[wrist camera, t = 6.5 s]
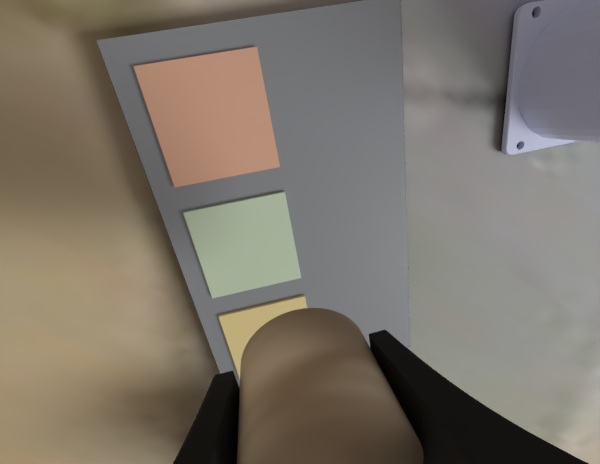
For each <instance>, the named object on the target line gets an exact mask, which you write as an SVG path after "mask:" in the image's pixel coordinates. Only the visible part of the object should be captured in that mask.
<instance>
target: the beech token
mask: <svg viewBox="0 0 600 464" xmlns="http://www.w3.org/2000/svg"><path fill="white" fill-rule="evenodd" d="M423 460H424V455H423V448H422V446H421V443H420V441H419V439H418V437H417V435H416V433H415V431H414V429H413V428H412V426H411V424H410V422H409V420H408V418H407V416H406V414H405V413H404V411H403V409H402V407H401V405H400V403H399V401H398V399H397V397H396V396H395V394H394V392H393V390H392V388H391V386H390V384H389V382H388V381H387V379H386V377H385V375H384V373H383V371H382V369H381V367H380V366H379V364H378V362H377V360H376V358H375V356H374V354H373V352H372V351H371V349H370V347H369V345H368V343H367V341H366V339H365V337H364V335H363V334H362V332H361V330H360V328H359V327H358V326H357V325H356V324H355V323H354V322H353V321H352V320H351V319H350V318H348V317H346V316H345V315H343V314H341V313H339V312H336V311H333V310H329V309H323V308H303V309H298V310H293V311H290V312H286V313H284V314H281V315H279V316H277V317H275V318H273V319H272V320H270V321H268V322H267V323H265V324H264V325H263V326H262V327H260V328H259V329H258V330H257V331H256V332H255V333H254V334H253V336H252V337H251V338H250V340H249V341H248V343H247V344H246V346H245V349H244V351H243V354H242V358H241V367H240V393H239V419H238V445H237V464H423Z"/></svg>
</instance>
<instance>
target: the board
mask: <svg viewBox="0 0 600 464" xmlns="http://www.w3.org/2000/svg"><path fill="white" fill-rule="evenodd" d="M96 41H97V44H98V46H99V49H100V52H101V54H102V57H103V60H104V62H105V65H106V68H107V70H108V73H109V76H110V79H111V81H112V84H113V87H114V89H115V92H116V95H117V97H118V100H119V103H120V105H121V108H122V111H123V114H124V116H125V119H126V122H127V124H128V127H129V130H130V132H131V135H132V138H133V140H134V143H135V146H136V149H137V151H138V154H139V157H140V159H141V162H142V165H143V167H144V170H145V173H146V175H147V178H148V181H149V184H150V186H151V189H152V192H153V194H154V197H155V200H156V202H157V205H158V208H159V210H160V213H161V216H162V219H163V221H164V224H165V227H166V229H167V232H168V235H169V237H170V240H171V243H172V245H173V248H174V251H175V254H176V256H177V259H178V262H179V264H180V267H181V270H182V272H183V275H184V278H185V280H186V283H187V286H188V289H189V291H190V294H191V297H192V299H193V302H194V305H195V307H196V310H197V313H198V315H199V318H200V321H201V324H202V326H203V329H204V332H205V334H206V337H207V340H208V342H209V345H210V348H211V350H212V353H213V356H214V359H215V361H216V364H217V367H218V369H219V372H220V374H221V373H225V372H229V371H233V372H234V374H235V377H236V380H237V383H238V385H239V388H240V367H241V358H242V354H243V351H244V349H245V346H246V344H247V343H248V341H249V340H250V338H251V337H252V336H253V334H254V333H255V332H256V331H257V330H258V329H259V328H260V327H262V326H263V325H264V324H265V323H267V322H268V321H270V320H272V319H273V318H275V317H277V316H279V315H281V314H284V313H286V312H290V311H293V310H298V309H303V308H323V309H329V310H333V311H336V312H339V313H341V314H343V315H345V316H346V317H348V318H350V319H351V320H352V321H353V322H354V323H355V324H356V325H357V326H358V327H359V328H360V330H361V332H362V334H363V335H364V337H365V339H366V341H367V343H368V345H369V347H370V341H369V334H370V333H374V332H378V331H381V330H386V331H388V332H389V333H390V334H391V335H393V336H394V337H395V338H396V339H397V340H398V341H399V342H401V343H402V344H403V345H404V346H405V347H406V348H408V347H410V318H409V281H408V245H407V208H406V172H405V135H404V99H403V63H402V26H401V0H362V1H355V2H349V3H342V4H335V5H329V6H322V7H315V8H309V9H302V10H295V11H289V12H282V13H275V14H269V15H262V16H255V17H249V18H242V19H235V20H229V21H222V22H215V23H209V24H202V25H195V26H189V27H182V28H175V29H169V30H162V31H155V32H149V33H142V34H135V35H129V36H122V37H115V38H109V39H102V40H96Z"/></svg>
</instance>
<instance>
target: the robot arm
mask: <svg viewBox="0 0 600 464" xmlns="http://www.w3.org/2000/svg"><path fill="white" fill-rule="evenodd" d="M533 10H534V17H533V16H532V11H533ZM577 141H591V142H600V0H542V1H536V2H530V3H527V4H524V5H522V6H520V7H519V8H518V9H517V11H516V12H515V16H514V24H513V34H512V45H511V55H510V65H509V76H508V86H507V96H506V107H505V117H504V128H503V138H502V152H503V153H504V154H506V155H514V154H519V153H524V152H528V151H533V150H538V149H543V148H548V147H553V146H557V145H562V144H567V143H572V142H577ZM518 143H519V146H518V147H517V144H518ZM369 341H370V349H371V351H372V352H373V354H374V356H375V358H376V360H377V362H378V364H379V366H380V367H381V369H382V371H383V373H384V375H385V377H386V379H387V381H388V382H389V384H390V386H391V388H392V390H393V392H394V394H395V396H396V397H397V399H398V401H399V403H400V405H401V407H402V409H403V411H404V413H405V414H406V416H407V418H408V420H409V422H410V424H411V426H412V428H413V429H414V431H415V433H416V435H417V437H418V439H419V441H420V443H421V446H422V448H423V455H424V460H423V464H588V463H586V462H584V461H582V460H580V459H578V458H576V457H574V456H572V455H571V454H569V453H567V452H565V451H563V450H561V449H559V448H557V447H556V446H554V445H552V444H550V443H548V442H546V441H544V440H542V439H541V438H539V437H537V436H535V435H533V434H531V433H529V432H528V431H526V430H524V429H523V428H521V427H519V426H517V425H516V424H514V423H512V422H511V421H509V420H507V419H506V418H504V417H502V416H501V415H499V414H497V413H496V412H494V411H493V410H491V409H489V408H488V407H486V406H485V405H483V404H482V403H480V402H479V401H477V400H476V399H474V398H473V397H471V396H470V395H468V394H467V393H465V392H464V391H462V390H461V389H460V388H458V387H457V386H455V385H454V384H452V383H451V382H450V381H448V380H447V379H446V378H444V377H443V376H442V375H440V374H439V373H438V372H436V371H435V370H434V369H432V368H431V367H430V366H429V365H427V364H426V363H425V362H423V361H422V360H421V359H420V358H418V357H417V356H416V355H415V354H414V353H412V352H411V351H410V350H409V349H408V348H406V347H405V346H404V345H403V344H402V343H401V342H399V341H398V340H397V339H396V338H395V337H394V336H393V335H391V334H390V333H389V332H388V331H386V330H381V331H378V332H374V333H370V334H369ZM239 393H240V388H239V385H238V383H237V380H236V377H235V374H234V372H233V371H229V372H225V373H221V374H218V375H215V376H214V378H213V380H212V382H211V385H210V387H209V389H208V392H207V394H206V396H205V399H204V401H203V403H202V405H201V408H200V410H199V412H198V414H197V416H196V419H195V421H194V423H193V425H192V427H191V429H190V431H189V433H188V435H187V437H186V439H185V441H184V443H183V445H182V447H181V449H180V451H179V453H178V455H177V457H176V459H175V461H174V463H173V464H237V445H238V419H239Z"/></svg>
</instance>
